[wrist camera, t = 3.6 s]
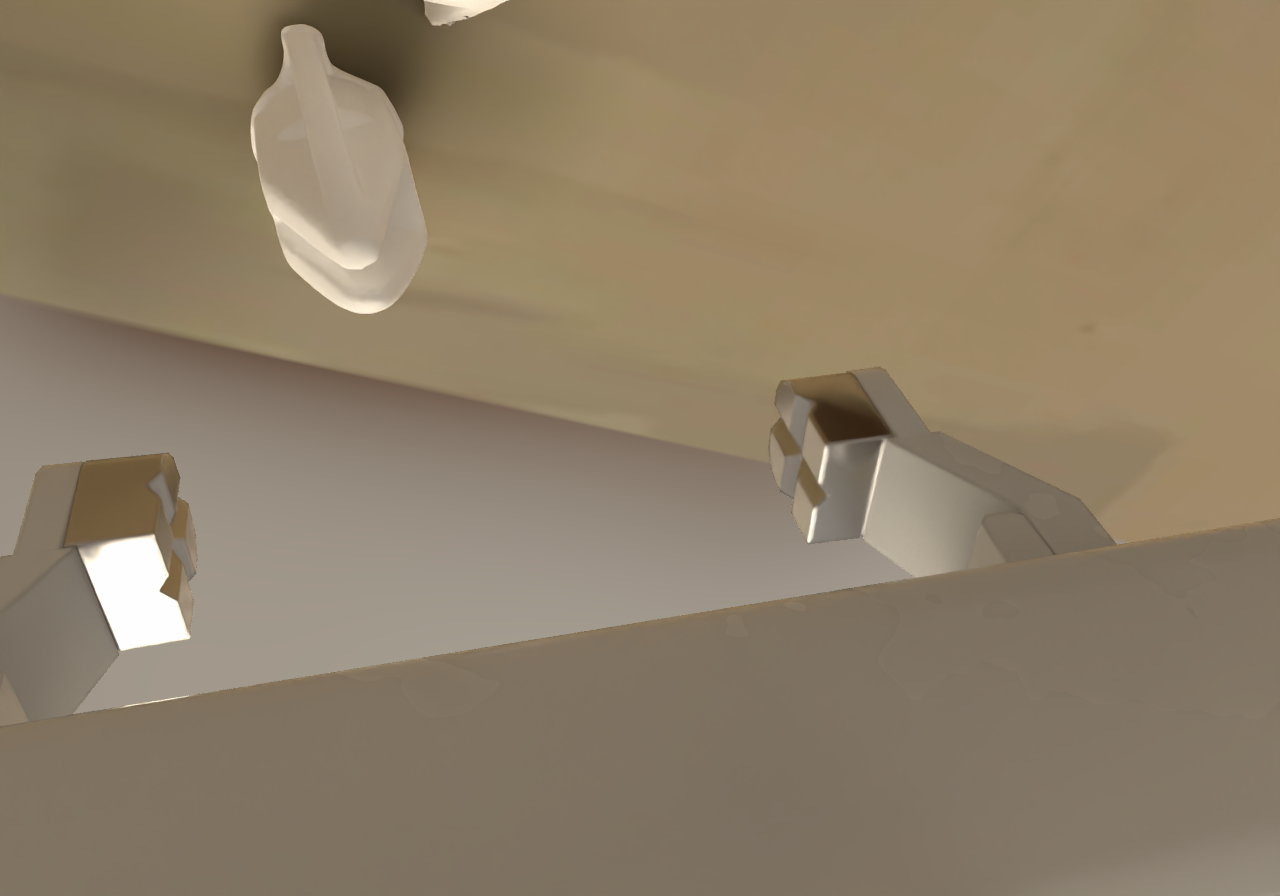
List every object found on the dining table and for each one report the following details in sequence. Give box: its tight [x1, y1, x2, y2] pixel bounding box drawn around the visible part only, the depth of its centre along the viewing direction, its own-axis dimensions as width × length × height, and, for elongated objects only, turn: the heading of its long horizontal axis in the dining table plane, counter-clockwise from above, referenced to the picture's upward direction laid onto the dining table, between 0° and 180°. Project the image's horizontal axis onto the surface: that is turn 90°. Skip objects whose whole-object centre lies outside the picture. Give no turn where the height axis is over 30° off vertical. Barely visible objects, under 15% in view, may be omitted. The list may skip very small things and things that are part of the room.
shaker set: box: [251, 0, 507, 314], centre depth 25 cm, size 12×4×11 cm, turn 151°
